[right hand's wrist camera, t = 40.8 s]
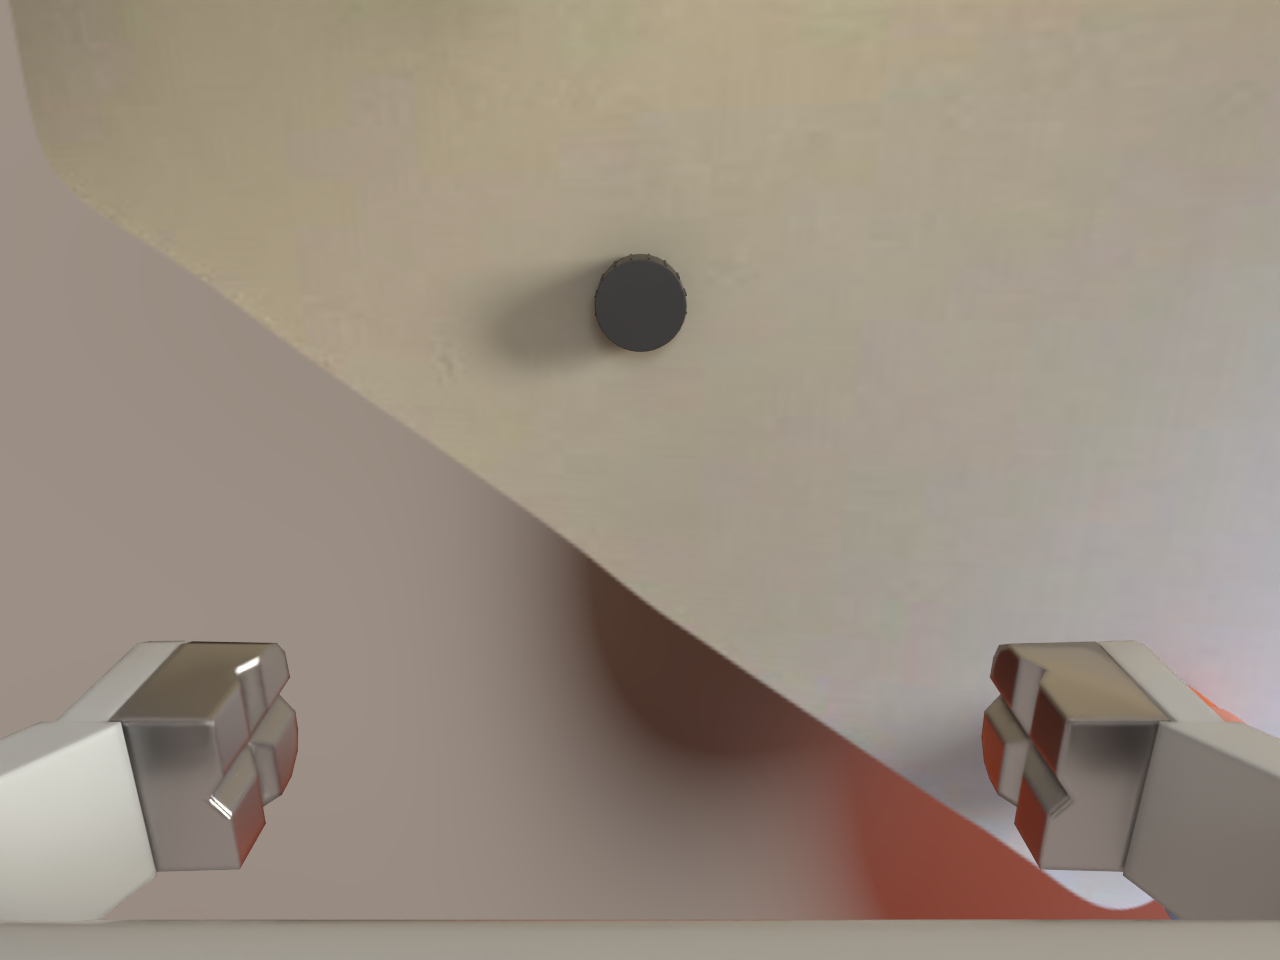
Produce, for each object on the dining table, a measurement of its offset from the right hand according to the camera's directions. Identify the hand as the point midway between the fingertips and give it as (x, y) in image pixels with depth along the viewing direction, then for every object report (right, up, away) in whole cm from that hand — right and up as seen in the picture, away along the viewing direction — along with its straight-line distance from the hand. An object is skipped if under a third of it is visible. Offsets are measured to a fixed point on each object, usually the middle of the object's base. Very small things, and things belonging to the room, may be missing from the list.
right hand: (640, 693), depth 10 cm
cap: (0, +10, +27) cm, 29 cm away
